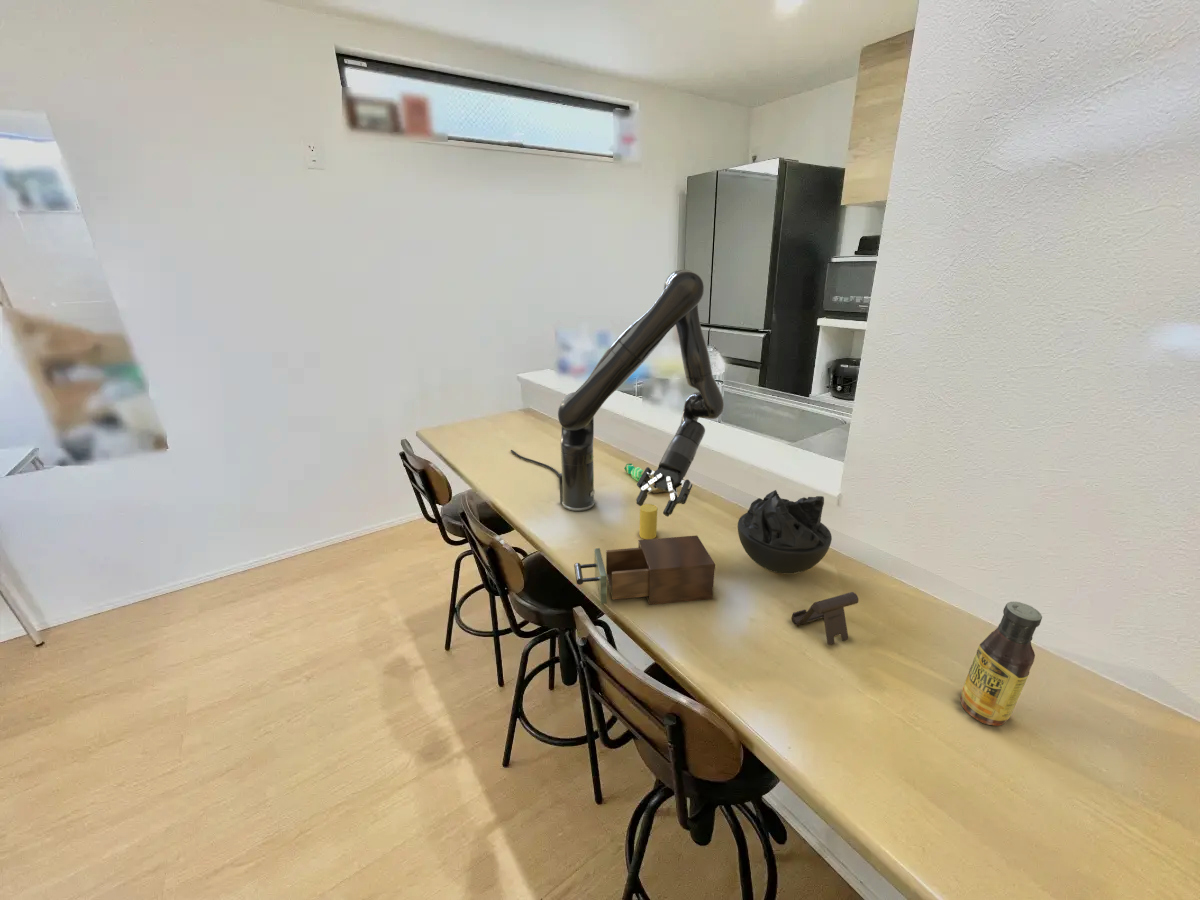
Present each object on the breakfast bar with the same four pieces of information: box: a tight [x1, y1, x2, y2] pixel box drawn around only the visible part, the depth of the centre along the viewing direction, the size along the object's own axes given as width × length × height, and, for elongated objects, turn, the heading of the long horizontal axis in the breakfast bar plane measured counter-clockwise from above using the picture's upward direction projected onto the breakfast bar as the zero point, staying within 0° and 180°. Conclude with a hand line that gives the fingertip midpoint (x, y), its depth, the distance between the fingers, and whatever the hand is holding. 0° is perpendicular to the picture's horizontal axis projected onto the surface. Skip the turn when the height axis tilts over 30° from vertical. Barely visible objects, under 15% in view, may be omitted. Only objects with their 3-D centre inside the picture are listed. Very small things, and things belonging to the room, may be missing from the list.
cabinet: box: [637, 535, 716, 606], centre depth 107 cm, size 14×12×9 cm
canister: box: [639, 503, 658, 540], centre depth 127 cm, size 4×4×8 cm
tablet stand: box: [790, 591, 859, 646], centre depth 93 cm, size 9×8×8 cm
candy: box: [624, 463, 653, 482], centre depth 162 cm, size 12×3×4 cm
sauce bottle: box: [960, 601, 1043, 727], centre depth 73 cm, size 7×6×20 cm
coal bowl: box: [737, 489, 833, 575], centre depth 111 cm, size 20×20×19 cm
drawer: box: [573, 547, 649, 605], centre depth 105 cm, size 17×10×7 cm, turn 98°
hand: (651, 509), depth 127 cm, fingers open, 8 cm apart
